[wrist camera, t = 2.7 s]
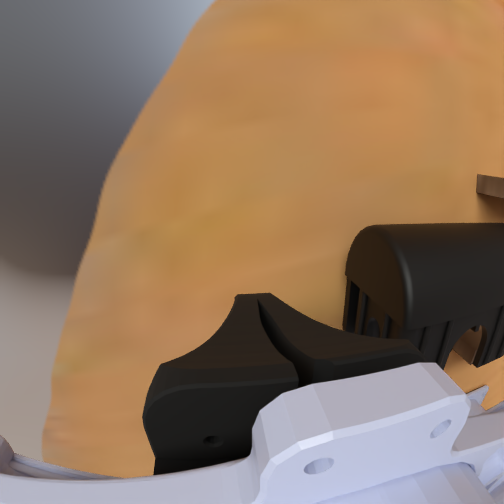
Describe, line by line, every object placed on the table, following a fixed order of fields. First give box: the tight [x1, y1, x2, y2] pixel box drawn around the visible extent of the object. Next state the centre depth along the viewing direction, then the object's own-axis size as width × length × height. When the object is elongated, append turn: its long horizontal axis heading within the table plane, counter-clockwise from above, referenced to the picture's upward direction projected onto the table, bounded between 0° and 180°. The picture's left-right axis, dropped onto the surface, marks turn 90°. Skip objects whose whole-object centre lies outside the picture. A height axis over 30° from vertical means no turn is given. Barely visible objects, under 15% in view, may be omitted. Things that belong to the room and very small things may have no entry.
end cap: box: [342, 223, 504, 370], centre depth 13 cm, size 10×7×7 cm
